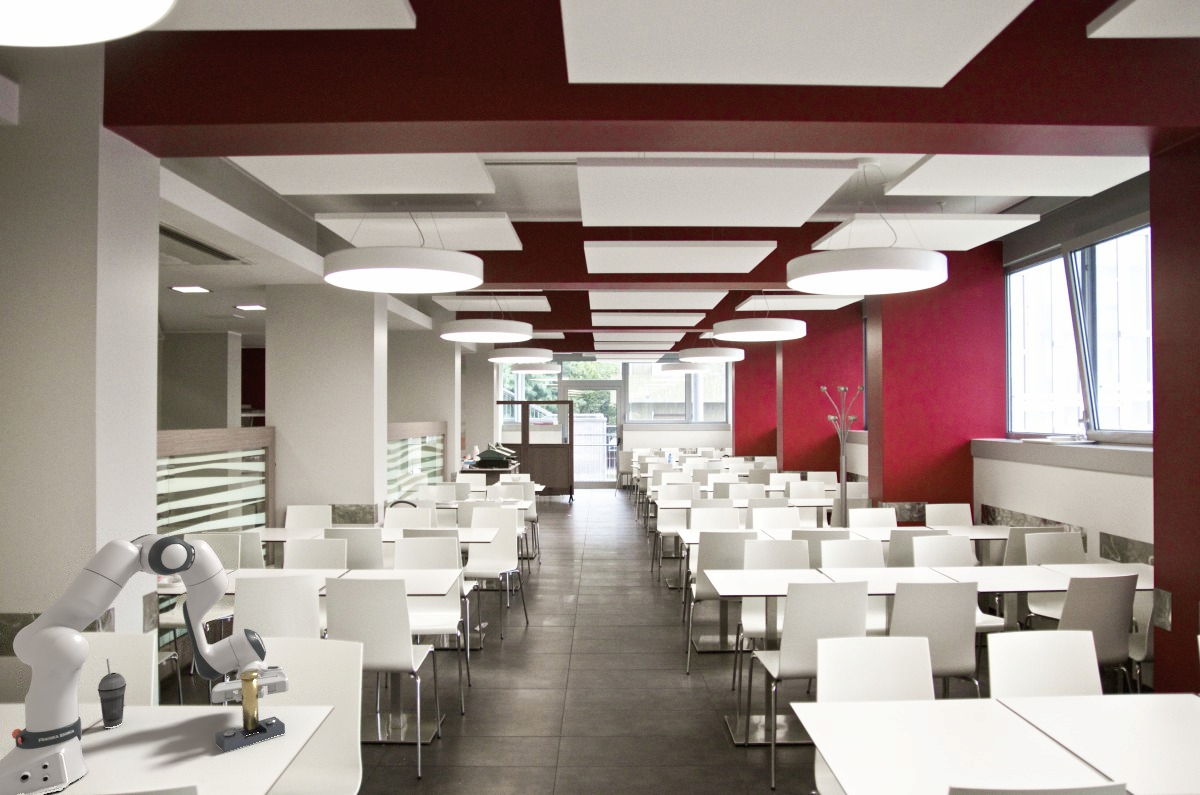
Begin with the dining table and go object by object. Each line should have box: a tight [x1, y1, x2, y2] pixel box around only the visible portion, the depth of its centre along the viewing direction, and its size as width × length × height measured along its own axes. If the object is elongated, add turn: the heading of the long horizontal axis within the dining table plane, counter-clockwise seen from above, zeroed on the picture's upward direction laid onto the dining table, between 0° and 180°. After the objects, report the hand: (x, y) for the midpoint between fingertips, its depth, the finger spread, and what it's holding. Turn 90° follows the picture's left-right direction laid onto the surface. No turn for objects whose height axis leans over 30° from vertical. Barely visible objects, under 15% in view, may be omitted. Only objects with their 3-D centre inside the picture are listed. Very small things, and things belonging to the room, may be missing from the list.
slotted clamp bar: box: [215, 716, 286, 753], centre depth 217 cm, size 16×8×4 cm, turn 132°
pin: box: [240, 670, 260, 730], centre depth 217 cm, size 5×5×15 cm
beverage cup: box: [97, 658, 127, 727], centre depth 231 cm, size 7×7×20 cm
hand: (249, 697), depth 216 cm, fingers closed on pin, 4 cm apart
